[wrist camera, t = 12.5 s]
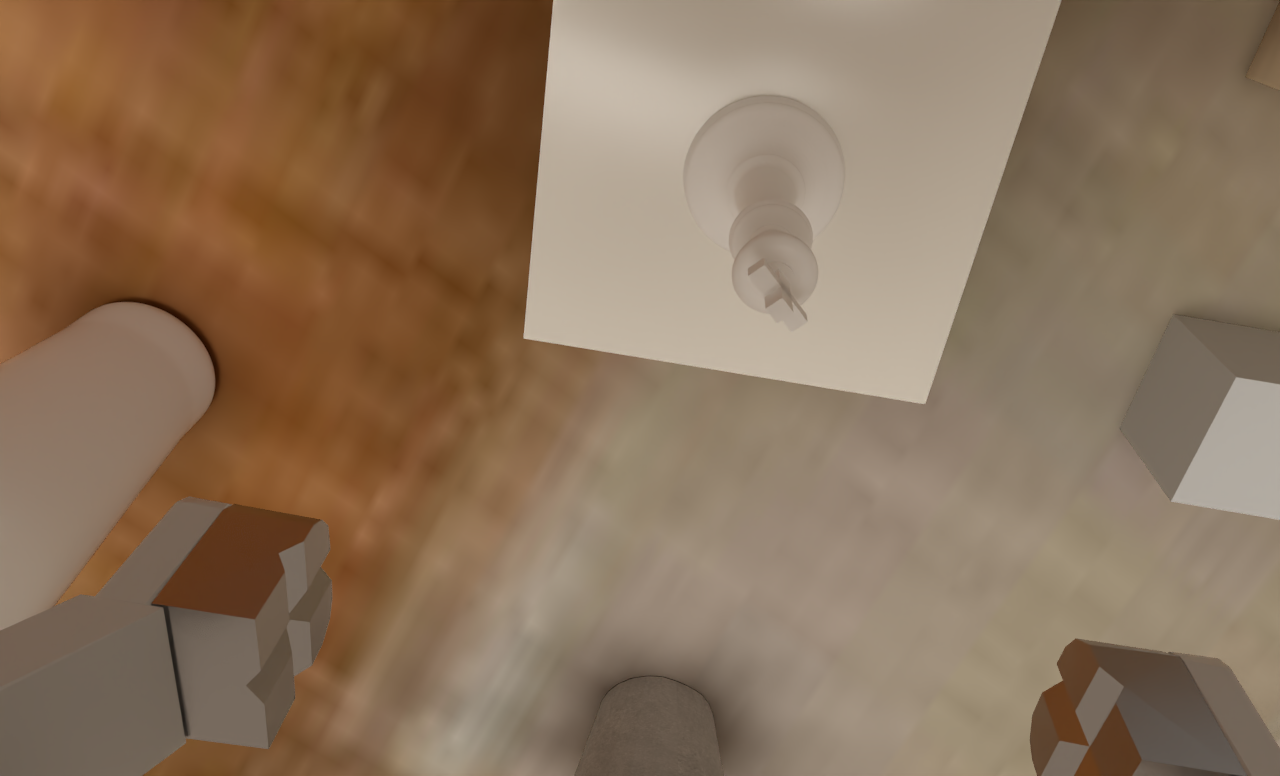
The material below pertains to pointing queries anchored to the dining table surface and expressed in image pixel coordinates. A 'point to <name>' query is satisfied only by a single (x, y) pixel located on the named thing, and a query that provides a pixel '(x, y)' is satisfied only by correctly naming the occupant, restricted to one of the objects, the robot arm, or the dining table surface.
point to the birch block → (1268, 56)
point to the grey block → (1212, 416)
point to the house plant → (652, 732)
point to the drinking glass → (87, 440)
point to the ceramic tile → (873, 188)
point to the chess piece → (766, 197)
